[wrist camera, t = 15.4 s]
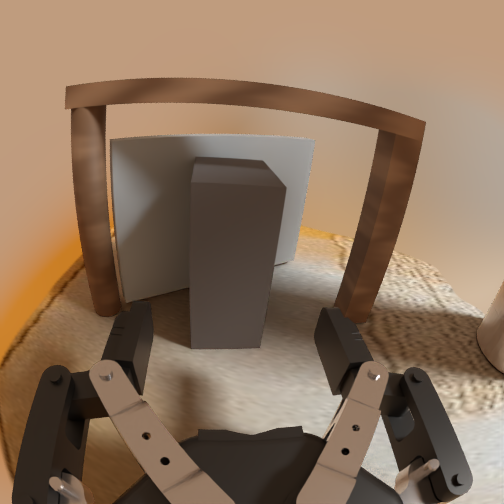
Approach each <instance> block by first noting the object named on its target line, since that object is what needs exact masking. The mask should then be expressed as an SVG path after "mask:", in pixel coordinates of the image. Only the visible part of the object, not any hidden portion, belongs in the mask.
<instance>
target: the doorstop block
mask: <svg viewBox="0 0 504 504" xmlns="http://www.w3.org/2000/svg"><path fill="white" fill-rule="evenodd" d="M286 190H287V187H286V186H285V185H284V184H283V182H282V181H281V180H280V179H279V178H278V177H277V176H276V174H275V173H274V172H273V171H272V170H271V169H270V168H269V166H268V165H267V164H266V163H265V162H264V161H263V160H252V159H238V158H220V157H197V156H196V157H195V163H194V168H193V174H192V180H191V200H190V246H189V282H190V329H191V349H242V348H260V343H261V338H262V332H263V327H264V321H265V316H266V310H267V305H268V299H269V293H270V288H271V282H272V276H273V270H274V264H275V258H276V253H277V247H278V240H279V234H280V228H281V222H282V216H283V209H284V203H285V197H286Z"/></svg>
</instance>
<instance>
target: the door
mask: <svg viewBox="0 0 504 504" xmlns="http://www.w3.org/2000/svg"><path fill="white" fill-rule="evenodd" d="M314 144H315V140H312V139H308V138H300V137H287V136H271V135H248V134H181V135H158V136H144V137H131V138H119V139H110V172H111V192H112V193H111V194H112V207H113V208H112V209H113V221H114V232H115V241H116V250H117V258H118V265H119V272H120V279H121V285H122V291H123V296H124V298H125V301H126V303H128V302H132V301H136V300H140V299H144V298H148V297H152V296H156V295H160V294H164V293H169V292H173V291H177V290H181V289H185V288H189V287H190V282H189V246H190V200H191V180H192V174H193V168H194V163H195V157H196V156H197V157H220V158H238V159H252V160H263V161H264V162H265V163H266V164H267V165H268V166H269V168H270V169H271V170H272V171H273V172H274V173H275V174H276V176H277V177H278V178H279V179H280V180H281V181H282V182H283V184H284V185H285V186H286V187H287V190H286V197H285V203H284V209H283V216H282V222H281V228H280V234H279V240H278V247H277V253H276V258H275V264H274V265H277V264H281V263H285V262H289V261H292V260H294V256H295V251H296V246H297V241H298V236H299V231H300V226H301V220H302V215H303V210H304V203H305V198H306V193H307V187H308V181H309V176H310V170H311V163H312V158H313V151H314Z"/></svg>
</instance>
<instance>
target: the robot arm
mask: <svg viewBox="0 0 504 504" xmlns="http://www.w3.org/2000/svg"><path fill="white" fill-rule="evenodd" d="M153 334H154V328H153V320H152V312H151V305H150V302H143V301H133V304H132V306H131V309H130V312H128V311H122V312H121V313H120V314H119V315H118V316H117V317H116V318H115V321H114V324H113V328H112V329H111V332H110V335H109V338H108V341H107V344H106V346H105V349H104V352H103V355H102V358H101V361H99V362H97V363H95V364H94V365H93V366H92V367H91V369H90V370H88V371H84V372H76V373H70V372H69V370H68V369H67V368H66V367H64V366H61V365H54V366H51V367H49V368H47V369H46V370H45V371H44V372H43V374H42V376H41V379H40V382H39V385H38V388H37V391H36V394H35V397H34V400H33V404H32V407H31V410H30V414H29V417H28V421H27V424H26V428H25V432H24V436H23V440H22V444H21V448H20V453H19V458H18V463H17V468H16V473H15V479H14V485H13V492H12V504H95V502H94V496H93V493H92V492H91V490H90V489H89V488H88V487H87V486H86V485H85V484H83V483H82V472H83V463H84V455H85V448H86V441H87V434H88V428H89V422H90V419H94V418H102V417H110V419H111V421H112V423H113V424H114V426H115V428H116V429H117V431H118V433H119V434H120V436H121V438H122V439H123V441H124V442H125V444H126V445H127V447H128V449H129V450H130V452H131V453H132V455H133V456H134V458H135V459H136V461H137V462H138V464H139V465H140V467H141V468H142V469H143V471H144V472H145V474H144V475H143V476H142V477H141V478H140V479H139V480H138V481H137V482H136V483H135V484H133V485H132V486H131V487H130V488H129V489H128V490H127V491H126V492H125V493H124V494H123V495H121V496H120V497H119V498H118V499H117V500H116V501H115V502H114V503H113V504H447V503H449V502H450V501H452V500H454V499H456V498H458V497H460V496H461V495H463V494H465V493H466V492H468V490H469V489H470V488H471V486H472V482H473V477H472V473H471V471H470V468H469V465H468V463H467V460H466V458H465V455H464V453H463V450H462V448H461V445H460V443H459V441H458V438H457V436H456V434H455V431H454V429H453V427H452V424H451V422H450V420H449V418H448V416H447V413H446V411H445V409H444V407H443V405H442V403H441V401H440V399H439V396H438V394H437V392H436V390H435V388H434V386H433V384H432V382H431V380H430V378H429V376H428V375H427V374H426V372H425V371H423V370H422V369H420V368H416V367H411V368H408V369H407V370H406V371H405V373H404V374H397V373H390V372H388V371H387V369H386V368H385V367H384V366H383V365H382V364H380V363H378V362H375V361H374V360H373V358H372V356H371V354H370V352H369V350H368V348H367V346H366V344H365V342H364V340H362V336H361V334H359V330H358V328H357V327H356V325H355V323H353V322H352V321H351V320H350V319H349V318H348V317H345V318H344V316H343V314H342V312H341V310H340V309H339V308H338V307H328V308H323V309H322V310H321V313H320V317H319V320H318V323H317V326H316V329H315V333H314V340H315V344H316V347H317V350H318V353H319V356H320V359H321V362H322V365H323V368H324V370H325V373H326V376H327V379H328V382H329V385H330V388H331V391H332V394H333V395H340V394H341V395H342V398H343V399H342V400H341V402H340V404H339V406H338V408H337V410H336V412H335V414H334V416H333V418H332V420H331V422H330V424H329V426H328V428H327V430H326V432H325V433H324V435H323V437H322V438H320V437H318V436H316V435H313V434H309V433H303V429H302V426H296V427H285V428H276V429H273V430H269V431H266V432H262V433H259V434H255V435H247V434H242V433H237V432H232V431H227V430H205V429H198V436H194V437H190V438H187V439H185V440H182V441H180V442H179V443H177V441H176V440H175V439H174V438H173V436H172V435H171V434H170V433H169V431H168V430H167V429H166V427H165V426H164V425H163V424H162V422H161V421H160V420H159V418H158V417H157V416H156V414H155V413H154V411H153V410H152V409H151V407H150V406H149V405H148V403H147V402H146V401H143V400H142V399H141V398H140V396H139V395H142V396H143V390H144V384H145V378H146V373H147V367H148V362H149V357H150V352H151V347H152V342H153ZM477 340H478V343H479V346H480V348H481V350H482V352H483V353H484V355H485V356H486V358H487V359H488V360H489V361H490V362H491V364H492V365H493V366H495V367H496V368H497V369H498V370H499V371H501V372H502V373H504V281H503V283H502V286H501V287H500V289H499V291H498V293H497V295H496V297H495V299H494V301H493V303H492V305H491V307H490V308H489V310H488V312H487V314H486V315H485V317H484V319H483V321H482V322H481V324H480V326H479V328H478V329H477ZM410 411H411V412H410ZM411 414H412V415H411ZM380 415H381V416H382V419H383V422H384V425H385V428H386V431H387V434H388V437H389V440H390V443H391V446H392V449H393V453H394V456H395V459H396V462H397V466H398V469H399V473H398V475H397V477H396V480H395V487H394V489H395V490H394V489H393V488H391V487H390V486H388V485H387V484H385V483H384V482H382V481H381V480H379V479H378V478H376V477H375V476H373V475H372V474H371V473H369V472H368V471H366V470H365V469H364V468H362V467H361V465H362V462H363V460H364V457H365V455H366V453H367V450H368V447H369V445H370V442H371V440H372V437H373V434H374V432H375V429H376V426H377V423H378V420H379V417H380ZM412 416H413V417H412ZM413 419H414V420H413Z"/></svg>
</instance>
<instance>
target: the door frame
mask: <svg viewBox="0 0 504 504" xmlns="http://www.w3.org/2000/svg"><path fill="white" fill-rule="evenodd" d="M158 102H159V103H168V102H169V103H171V102H173V103H208V104H226V105H238V106H249V107H259V108H269V109H276V110H284V111H290V112H297V113H303V114H309V115H315V116H321V117H326V118H331V119H337V120H341V121H346V122H351V123H355V124H359V125H364V126H368V127H372V128H376V129H379V133H378V139H377V144H376V149H375V154H374V159H373V164H372V169H371V173H370V178H369V182H368V187H367V191H366V195H365V199H364V204H363V208H362V212H361V216H360V220H359V223H358V227H357V231H356V235H355V238H354V242H353V246H352V249H351V253H350V256H349V260H348V263H347V266H346V270H345V273H344V276H343V280H342V283H341V286H340V289H339V292H338V295H337V298H336V301H335V304H334V307H338V308H339V309H340V310H341V312H342V314H343V316H344V318H345V317H348V318H349V319H350V320H351V321H352V322H353V323H363V322H366V320H367V318H368V316H369V313H370V311H371V308H372V306H373V304H374V301H375V299H376V296H377V294H378V291H379V288H380V286H381V283H382V281H383V278H384V275H385V272H386V270H387V267H388V264H389V261H390V258H391V256H392V253H393V250H394V246H395V244H396V241H397V237H398V234H399V231H400V227H401V225H402V221H403V218H404V214H405V211H406V208H407V204H408V200H409V197H410V193H411V189H412V185H413V181H414V177H415V173H416V168H417V164H418V160H419V155H420V151H421V146H422V141H423V135H424V130H425V125H426V122H424V121H422V120H419V119H416V118H413V117H410V116H407V115H404V114H401V113H398V112H395V111H392V110H389V109H385V108H382V107H378V106H375V105H371V104H368V103H364V102H360V101H356V100H352V99H348V98H344V97H340V96H335V95H331V94H326V93H321V92H316V91H311V90H305V89H299V88H293V87H287V86H281V85H273V84H265V83H257V82H248V81H237V80H224V79H206V78H205V79H204V78H147V79H146V78H145V79H126V80H115V81H104V82H95V83H87V84H79V85H73V86H67V87H66V96H65V109H71V147H72V170H73V183H74V194H75V204H76V213H77V220H78V228H79V234H80V241H81V246H82V252H83V258H84V263H85V268H86V273H87V278H88V282H89V287H90V291H91V295H92V300H93V304H94V308H95V311H96V313H97V314H98V315H100V316H104V317H109V316H113V315H115V314H117V313H118V312H119V311H120V310H121V301H120V295H119V290H118V284H117V278H116V271H115V264H114V257H113V250H112V242H111V233H110V223H109V212H108V200H107V182H106V154H105V153H106V152H105V150H106V149H105V131H106V130H105V129H106V105H110V104H111V105H112V104H129V103H158Z"/></svg>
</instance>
